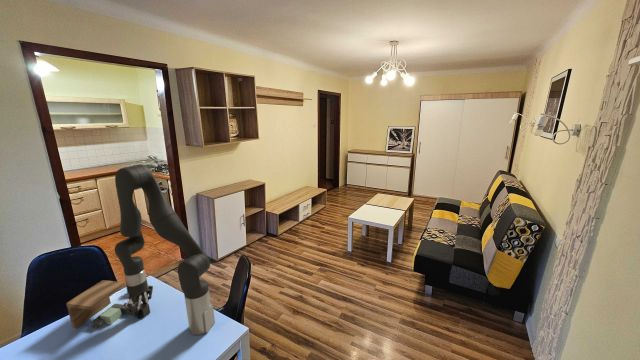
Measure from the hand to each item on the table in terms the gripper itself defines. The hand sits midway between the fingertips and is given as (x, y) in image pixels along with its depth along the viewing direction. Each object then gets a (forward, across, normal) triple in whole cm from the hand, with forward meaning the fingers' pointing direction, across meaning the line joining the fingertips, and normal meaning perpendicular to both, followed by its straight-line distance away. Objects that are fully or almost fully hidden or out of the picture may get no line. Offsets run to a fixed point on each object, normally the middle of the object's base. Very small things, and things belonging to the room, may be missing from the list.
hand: (142, 313), depth 120 cm
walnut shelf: (+1, -4, +17) cm, 17 cm away
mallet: (+1, -4, +6) cm, 8 cm away
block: (+1, -5, +11) cm, 12 cm away
